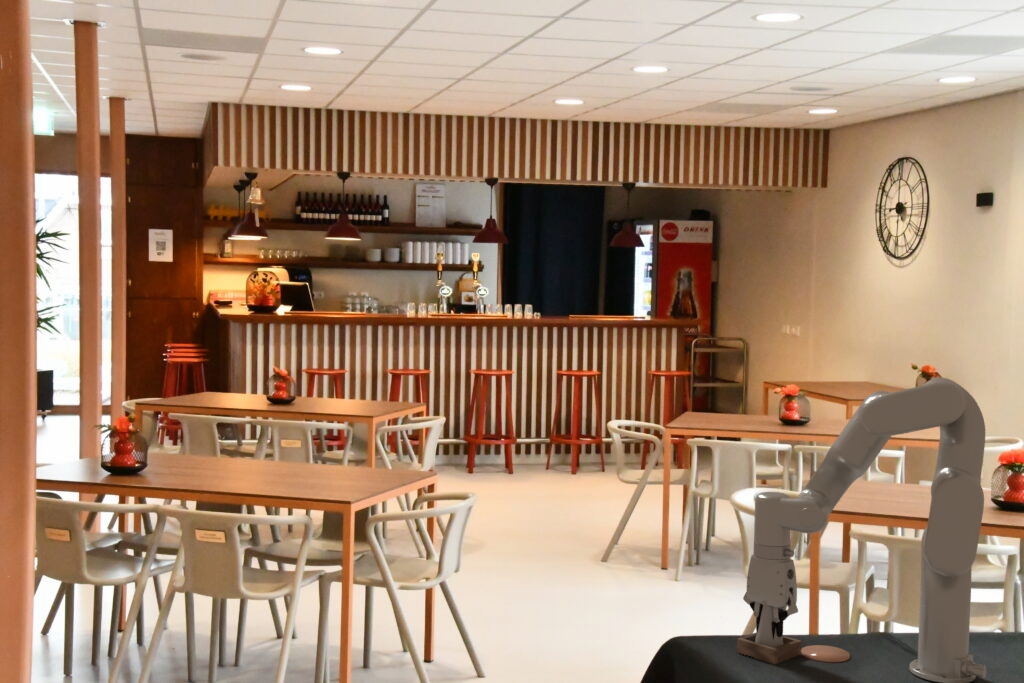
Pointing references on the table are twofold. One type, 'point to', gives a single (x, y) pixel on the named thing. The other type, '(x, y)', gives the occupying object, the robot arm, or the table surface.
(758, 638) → the salt shaker
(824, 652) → the orange round disc
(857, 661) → the table surface
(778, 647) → the square wooden frame
